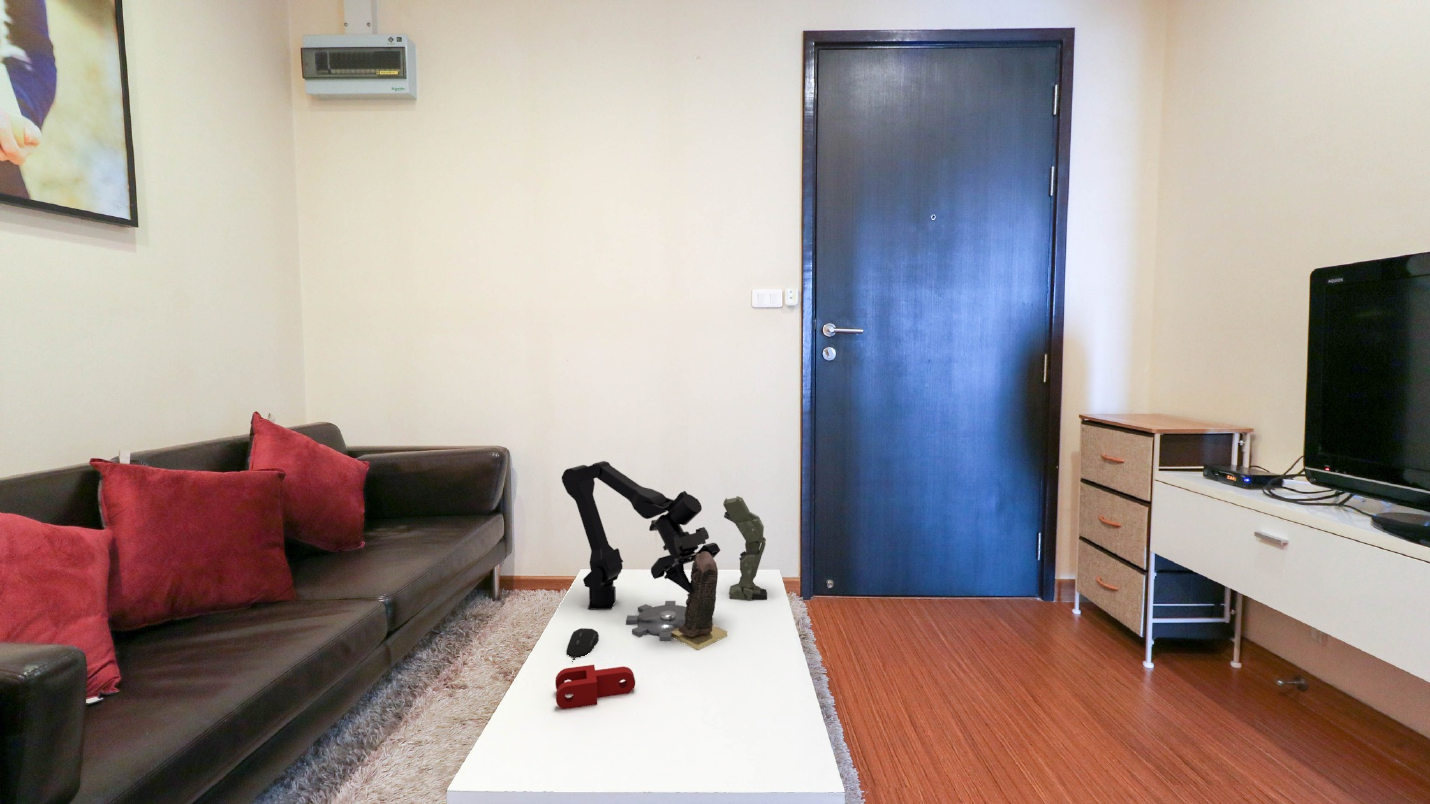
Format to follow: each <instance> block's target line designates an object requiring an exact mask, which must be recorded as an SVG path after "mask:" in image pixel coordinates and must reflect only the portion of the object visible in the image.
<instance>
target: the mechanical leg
mask: <svg viewBox="0 0 1430 804" xmlns="http://www.w3.org/2000/svg"><path fill="white" fill-rule="evenodd" d="M723 507H724V509H725V512H724V515H723V518H724V519H726V520H728V521H729V522H732V523H733V524H735V526H736V528H737V529H738V531H739V533H740V534H741V535H742V537H743V539H744V541H745V543H744V546H745V547H744V548H745V550H744V551H742V552H741V553H740V554H739V555H740V557H739V571H740V574H741V575H740V577H739V581H738V583H734V584H732V585H730V587H729V591H728V594H729V599H731V600H746V601H747V600H749V601H767V599H768V592H767V589H765V588H761V586H758V585H756V584H755V583H754V579H755V577H757V573H758V570H759V567H760V564H761V560H762V556H763V553H764V552H765V548H766V541H767V539H766V537H764V532H765V531H764V530H765V529H764V528H765V527H764V523H763V522H762V520H761V519H760V516H759V515H757V514H755V513H753V512H752V511H750V509H749V507H748V506H747V504H746V502H745V500H744V499H743V497H742V496H741V497H740V496H736V497H731V498H727V497H725V499H724V500H723Z"/></svg>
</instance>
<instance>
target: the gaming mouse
mask: <svg viewBox="0 0 1430 804" xmlns="http://www.w3.org/2000/svg"><path fill="white" fill-rule="evenodd" d="M599 636H600V635H599V632H598V631H597V630H595V629H594V628H579V629H576V630H573V632H572V634H571V636H570V639H569V642H568V644H567V647H566V650H565V652H566V656H567V655H569V656H568V657H570V656H571V657H570V658H572V659H571V662H573V661H572V660H575V661H576V659H577V658H576V657H579V658H582V657H581V656H585V655H587V654H588V653H590V654H591V652H593V650H594V649H595V647H596V645H597V644H598V643H599V638H600V637H599ZM594 646H595V647H594ZM592 649H593V650H592ZM588 655H589V654H588ZM588 655H587V656H588ZM585 657H586V656H585ZM575 658H576V659H575ZM573 663H574V662H573Z"/></svg>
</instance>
